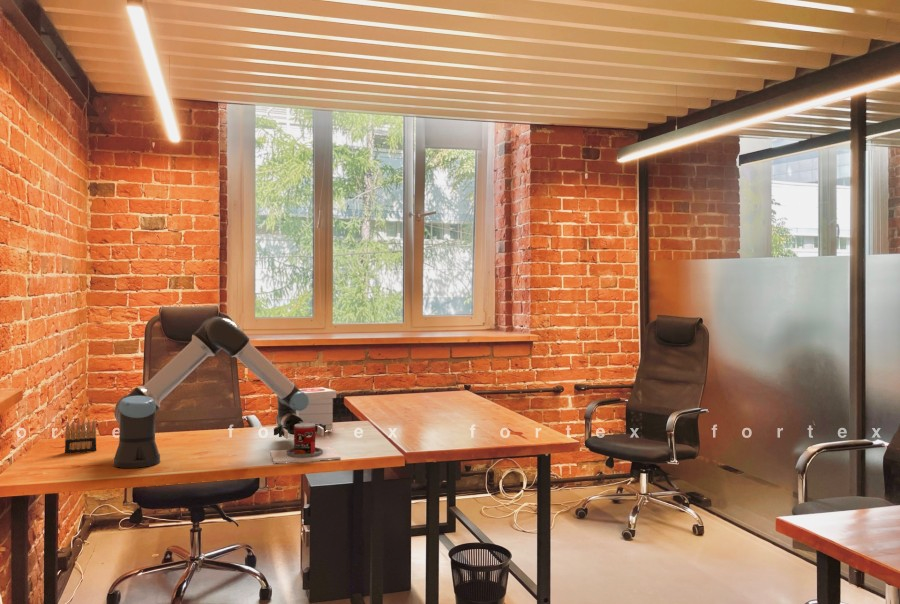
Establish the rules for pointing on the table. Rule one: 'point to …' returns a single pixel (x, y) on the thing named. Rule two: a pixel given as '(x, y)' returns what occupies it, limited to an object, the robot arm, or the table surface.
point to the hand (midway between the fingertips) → (305, 433)
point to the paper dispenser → (318, 406)
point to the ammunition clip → (80, 438)
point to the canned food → (304, 438)
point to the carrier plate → (304, 455)
